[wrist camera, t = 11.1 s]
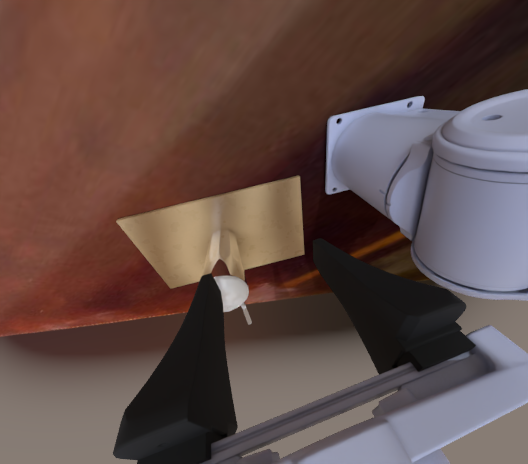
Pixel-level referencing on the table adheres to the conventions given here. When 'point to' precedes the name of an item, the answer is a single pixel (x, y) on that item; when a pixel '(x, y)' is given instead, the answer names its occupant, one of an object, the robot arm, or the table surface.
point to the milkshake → (227, 270)
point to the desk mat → (221, 217)
